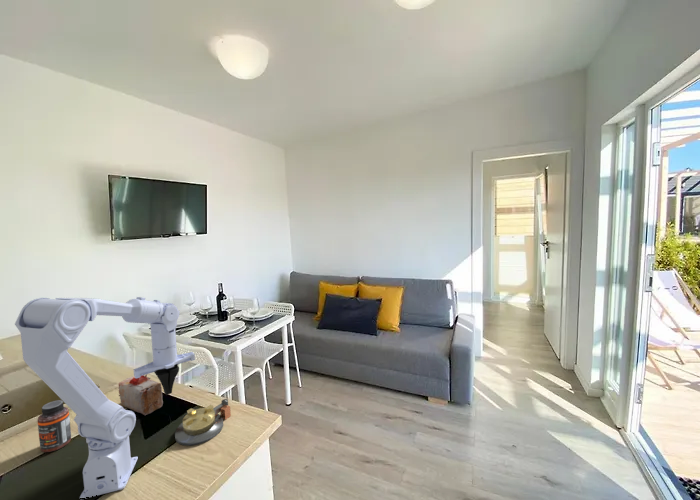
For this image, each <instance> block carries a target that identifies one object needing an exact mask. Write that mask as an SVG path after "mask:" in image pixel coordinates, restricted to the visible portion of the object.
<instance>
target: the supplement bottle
mask: <svg viewBox="0 0 700 500" xmlns="http://www.w3.org/2000/svg"><path fill="white" fill-rule="evenodd" d="M70 421H71V419H70V410H69V407H67V406H64V401H63V400H62V399H60V400H59V399H57V400H53V401H50V402H47V403H46V404H44V405H43V406H42V407H41V414H39V416H38V418H37V431H38V439H39V449H40V452H42V453H51V452H55V451H58V450H60V449H61V448H64V447H65V446H67V445H68V444H70V442H71V440H72V432H71V431H72V429H71V422H70Z"/></svg>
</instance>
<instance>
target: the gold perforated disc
mask: <svg viewBox="0 0 700 500" xmlns="http://www.w3.org/2000/svg"><path fill="white" fill-rule="evenodd" d="M225 405H228V406H229V399H227V398H224V399H222V400H221V403H219V404H218V405H216V406H214V405H212V404H210V405H208V406H206V407H200V408H196V409H195V408H192V407H191V408H189V409H188V410H186V412H187V414H186V415H185V416H184V417H183V418H182V422H183V431H184V433H186V434H188V435H197V434H201V433H203V432H206V431H208V430H209V429H210V428H212V427H213V426H214V424H215V415H216V414H219V413H221V410H220V409H221V408H222V407H223V406H225Z"/></svg>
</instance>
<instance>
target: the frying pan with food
mask: <svg viewBox="0 0 700 500" xmlns="http://www.w3.org/2000/svg"><path fill="white" fill-rule="evenodd" d="M220 410H221V412H220V414H219V413H218V414H216V415H215V424H214V426H213V427H212V428H210V429H209V430H208V431H206V432H203V433H201V434H197V435H188V434H186V433H184V431H183V421H182V422H181V423H180V424H179V425H178V426H177V428H176V429H175V432H174V437H175V438H174V439H175V442H176V443H178V444H179V445H180V446H184V447H185V446H187V447H188V446H189V447H191V446H197V445H200V444H201V445H202V444H204V443H207V442H208V441H210V440H212V439H214V438H215V437H217V435H219V434H220V432H221V431H222V429H223V428H224V420H225V421H226V420H227V419H229V418H230V417H231V416H232V413H231V405H229V404H228V405H225V406H223V407H222V408H221V409H220Z"/></svg>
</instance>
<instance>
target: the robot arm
mask: <svg viewBox="0 0 700 500" xmlns="http://www.w3.org/2000/svg"><path fill="white" fill-rule="evenodd" d="M180 312H181V311H180V310H179V309H178V306H176V305H175V303H172V302H161V300H159V299H154V300H147V299H146V297H144V296H136V298H131V299H129V300H127V301H126V302H121V301H114V300H108V299H100V298H95V297H94V298H92V297H91V298H90V297H55V298H49V297H39V298H33V299H32V300H30V301H28V302H27V303H25V305H23V307H22V308H21V310H20V311H19V314H18V317H17V318H16V321H15V323H14V326H15V327H16V328H17V331H19V333H20V340H21V341H20V342H21V352H22V360H23V361H24V363H25V364H26V365H27V366H28V367H29V368H30V369H31V370H32V371H33V372H34V373H35V374H36V376H38V377H39V379H41V380H42V381H43V382H44V383H45V384H46V385H47V386H48V387H49V389H51V390H52V391H53V392H54V393H55V395H57V396H58V398H59V399H60V400H61V401H63V403H64V404H65V405H67V407H68V408H70V410H71V411H72V412H73V413H74V414H75V417H74V418H73V422H74V423H76V425H77V433H78V435H79V436H81V437H83V438H85V439H86V440H85V441H86V444H87V447H88V457H87V460H86V462H85V464H84V466H83V469H82V479H83V487H84V488H83V491H82V492H81V494H80V496H79V499H80V498H85V499H87V498H86V497H89V498H92V496H93V497H96V495H97V496H100V495H104V494H108V493H113V492H117V491H120V490H123V489H125V487H126V485H127V483H128V481H129V479H130V477H131V475H132V472H133V470H134V468H135V466H136V463H137V461H138V456H133V457H131V455H132V454H131V445H130V436H131V433H132V432H133V430H134V428H135V427H136V421H137V417H136V416H137V415H136V414H135V411H133V410H128V409H125V407H123V406H121V405H120V404H118V403H117V402H115V401H113V400H111V399H109V398H108V396H107V395H105V394H104V392H103V391H102V390H101V389H100V388H99V386H98V385H97V384H96V383H95V382H94V381H93V379H92V378H91V377H90V376H89V375H88V374H87V373H86V371H85V370H84V369H83V368H82V367H81V365H79V363H78V362H77V361H76V360H75V359H74V358H73V357H72V355H71V354H70V353H69V352H68V349H70V348H71V346H72V345H73V344H74V343H75V342H76V340H77V338H78V337H79V336H80V334H81V333H82V332H83V330H84V328H85V327H86V326H87V324H88V322H93V321H94V320H95V319H96V317H97V316H109V317H121V318H122V319H123V320H124V322H126V323H133V324H149V325H150V338H151V348H152V351H151V353H152V362H149V363H146V364H144V365H141V366H140V367H136V368H134V369H133V377H135V378H136V379H137V378H140V377H141V376H143V375H144V376H145V375H146V374H147V375H148V374H152V373H154V374H155V375H156V377H157V378H158V380H159V383H161V387H162V389H163V393H164V394H165V396H168V395H170V394H172V393H173V388H174V383H175V380H176V378H177V376H178V373H179V371H180V367H179V366H178V365H180V364H183V363H184V364H185V363H186V362H192V361H195V360H196V357H195V353H194V352H193V351H190V352H186V353H182V354H178V346H177V333H176V329H177V326H178V320H179V317H180Z"/></svg>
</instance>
